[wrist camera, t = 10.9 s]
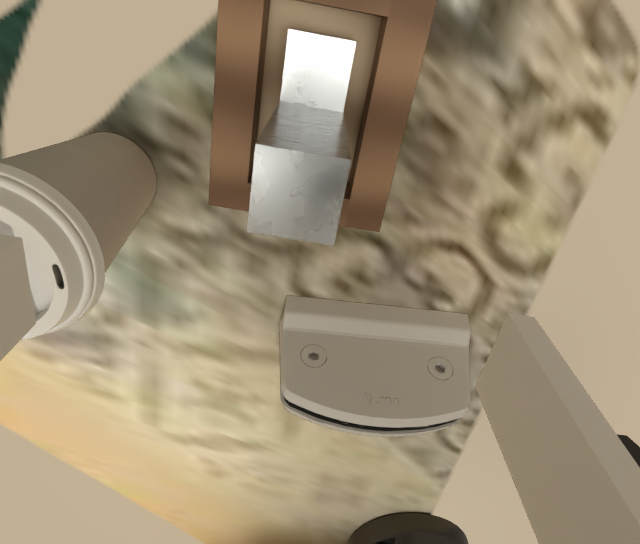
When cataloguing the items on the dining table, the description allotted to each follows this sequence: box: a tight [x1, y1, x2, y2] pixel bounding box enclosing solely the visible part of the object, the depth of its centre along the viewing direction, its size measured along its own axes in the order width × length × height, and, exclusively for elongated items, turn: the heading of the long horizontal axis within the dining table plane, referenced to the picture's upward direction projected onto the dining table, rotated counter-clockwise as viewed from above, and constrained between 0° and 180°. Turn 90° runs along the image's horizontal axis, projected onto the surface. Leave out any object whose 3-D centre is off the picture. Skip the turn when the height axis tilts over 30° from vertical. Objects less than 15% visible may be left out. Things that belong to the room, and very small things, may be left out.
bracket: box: [247, 28, 356, 246], centre depth 25 cm, size 8×4×14 cm, turn 171°
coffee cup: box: [0, 132, 157, 340], centre depth 28 cm, size 10×10×15 cm
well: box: [209, 0, 437, 232], centre depth 30 cm, size 15×12×4 cm
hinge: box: [279, 295, 471, 437], centre depth 38 cm, size 17×5×10 cm, turn 84°
